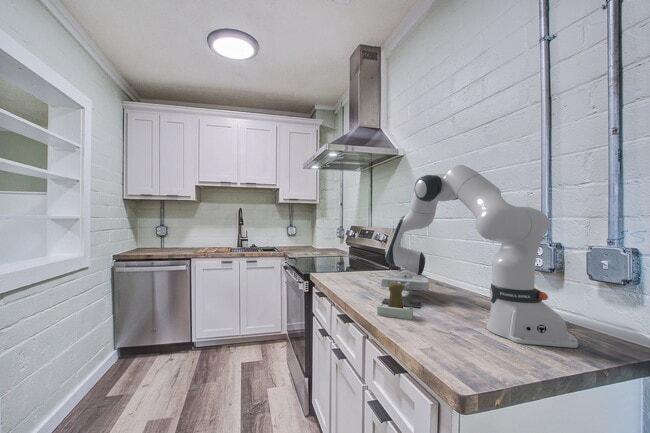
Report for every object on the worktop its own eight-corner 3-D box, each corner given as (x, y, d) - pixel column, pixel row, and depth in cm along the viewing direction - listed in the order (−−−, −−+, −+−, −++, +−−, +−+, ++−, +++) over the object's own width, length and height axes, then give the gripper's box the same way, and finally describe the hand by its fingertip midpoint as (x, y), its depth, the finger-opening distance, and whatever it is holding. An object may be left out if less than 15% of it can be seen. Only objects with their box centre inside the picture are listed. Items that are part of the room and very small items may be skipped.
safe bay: (413, 315, 105) (413, 307, 105) (411, 319, 100) (411, 310, 100) (379, 311, 109) (379, 303, 109) (377, 314, 105) (377, 306, 105)
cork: (402, 310, 110) (402, 281, 110) (405, 316, 104) (405, 285, 104) (386, 310, 111) (386, 281, 111) (388, 315, 105) (388, 284, 105)
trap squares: (421, 303, 120) (421, 302, 120) (419, 308, 113) (419, 307, 113) (384, 299, 125) (384, 298, 125) (381, 303, 119) (381, 302, 119)
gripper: (383, 272, 136) (377, 277, 124) (429, 275, 129) (428, 281, 116) (383, 285, 136) (377, 292, 124) (430, 289, 128) (428, 297, 116)
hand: (402, 286), depth 120 cm, fingers closed
